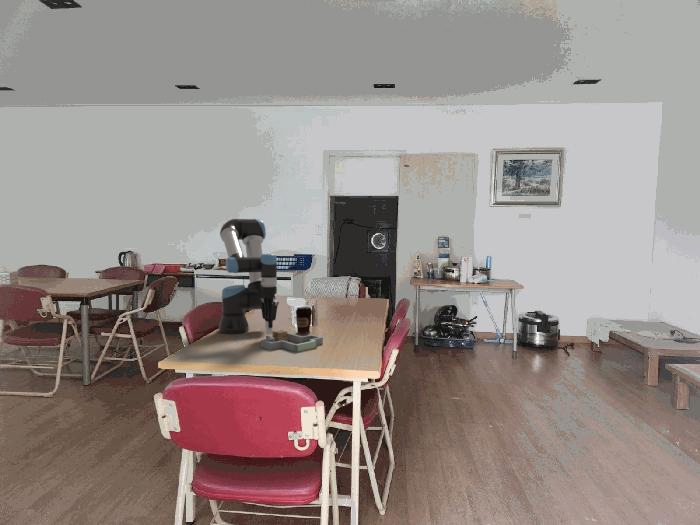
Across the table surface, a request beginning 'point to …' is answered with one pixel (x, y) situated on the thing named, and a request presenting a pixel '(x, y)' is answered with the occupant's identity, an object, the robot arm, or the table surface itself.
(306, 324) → the coffee cup
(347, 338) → the table surface
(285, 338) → the walnut block
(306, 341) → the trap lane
